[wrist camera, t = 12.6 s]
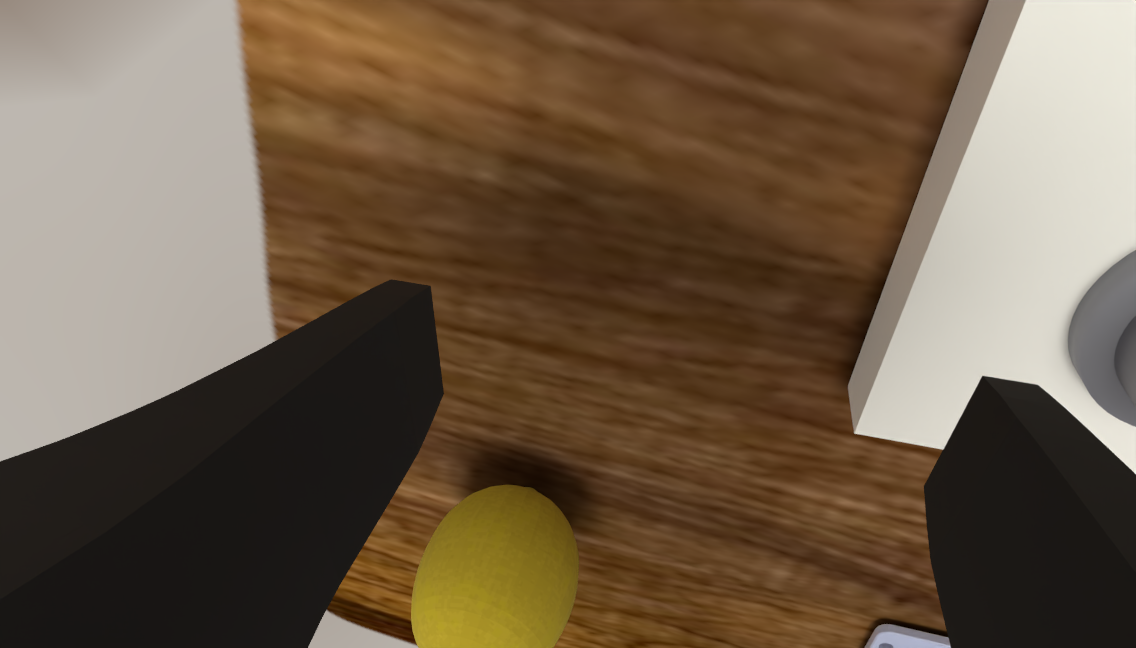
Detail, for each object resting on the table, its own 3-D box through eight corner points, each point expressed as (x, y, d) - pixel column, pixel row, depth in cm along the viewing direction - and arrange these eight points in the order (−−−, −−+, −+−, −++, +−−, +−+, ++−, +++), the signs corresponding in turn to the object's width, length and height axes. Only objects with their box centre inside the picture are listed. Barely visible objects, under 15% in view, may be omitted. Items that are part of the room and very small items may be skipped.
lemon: (464, 426, 25) (363, 621, 19) (607, 461, 24) (549, 678, 18) (465, 514, 28) (379, 706, 22) (590, 548, 28) (537, 756, 21)
